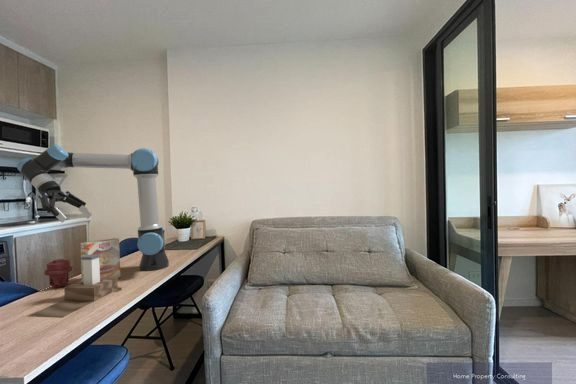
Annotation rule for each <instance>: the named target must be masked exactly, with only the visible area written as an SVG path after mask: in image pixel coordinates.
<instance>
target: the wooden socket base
mask: <svg viewBox="0 0 576 384" xmlns="http://www.w3.org/2000/svg"><path fill="white" fill-rule="evenodd" d="M118 280H119V277H100V282H98V283H96V284H94V285H84V280H82V279H81V280H79V281H77V282H74V283H71V284H70V285H69V284H68V285H67V286H63V287H64V289H63V290H64V292H63V293H64V299H63V300H60V301H58V302H56V303H54V304H51V305H48V306H47V307H45V308H42V309H40V310H38V311H35V312H33V313H31V314H28V315H26V317H28V318H29V317H30V318H31V317H32V318H54V319H55V318H57V319H58V318H59V319H61V318H62V319H63V318H64V317H67V316H68V315H70V314H73V313H74V312H76V311H78V310H80V309H82V308H84V307H86V306H88V305H90V304H93V303H94V302H96V301H98V300H100V299H102V298H104V297H106V296H108V295H109V294H111V293H118V292H120V291H122V289H123V288H122V287H119V281H118Z"/></svg>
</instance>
